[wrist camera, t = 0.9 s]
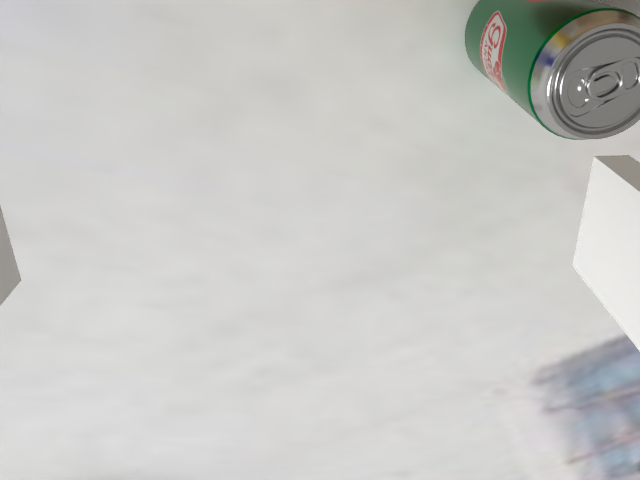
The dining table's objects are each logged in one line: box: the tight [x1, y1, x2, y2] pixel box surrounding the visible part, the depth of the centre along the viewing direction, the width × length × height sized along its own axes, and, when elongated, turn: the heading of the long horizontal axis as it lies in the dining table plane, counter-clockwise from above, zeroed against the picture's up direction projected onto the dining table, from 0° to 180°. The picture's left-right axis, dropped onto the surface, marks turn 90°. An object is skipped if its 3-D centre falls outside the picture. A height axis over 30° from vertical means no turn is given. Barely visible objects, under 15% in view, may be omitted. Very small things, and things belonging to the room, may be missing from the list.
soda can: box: [465, 0, 640, 140], centre depth 28 cm, size 5×5×12 cm
